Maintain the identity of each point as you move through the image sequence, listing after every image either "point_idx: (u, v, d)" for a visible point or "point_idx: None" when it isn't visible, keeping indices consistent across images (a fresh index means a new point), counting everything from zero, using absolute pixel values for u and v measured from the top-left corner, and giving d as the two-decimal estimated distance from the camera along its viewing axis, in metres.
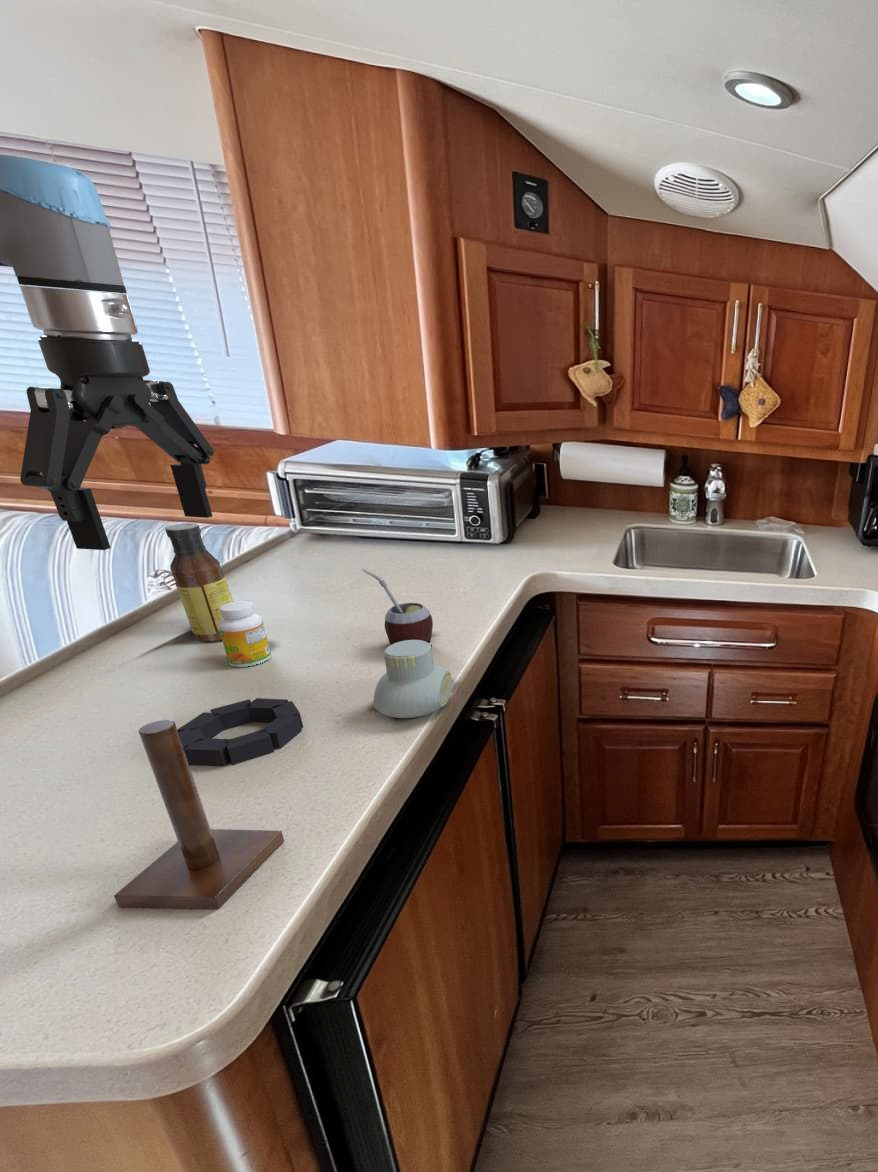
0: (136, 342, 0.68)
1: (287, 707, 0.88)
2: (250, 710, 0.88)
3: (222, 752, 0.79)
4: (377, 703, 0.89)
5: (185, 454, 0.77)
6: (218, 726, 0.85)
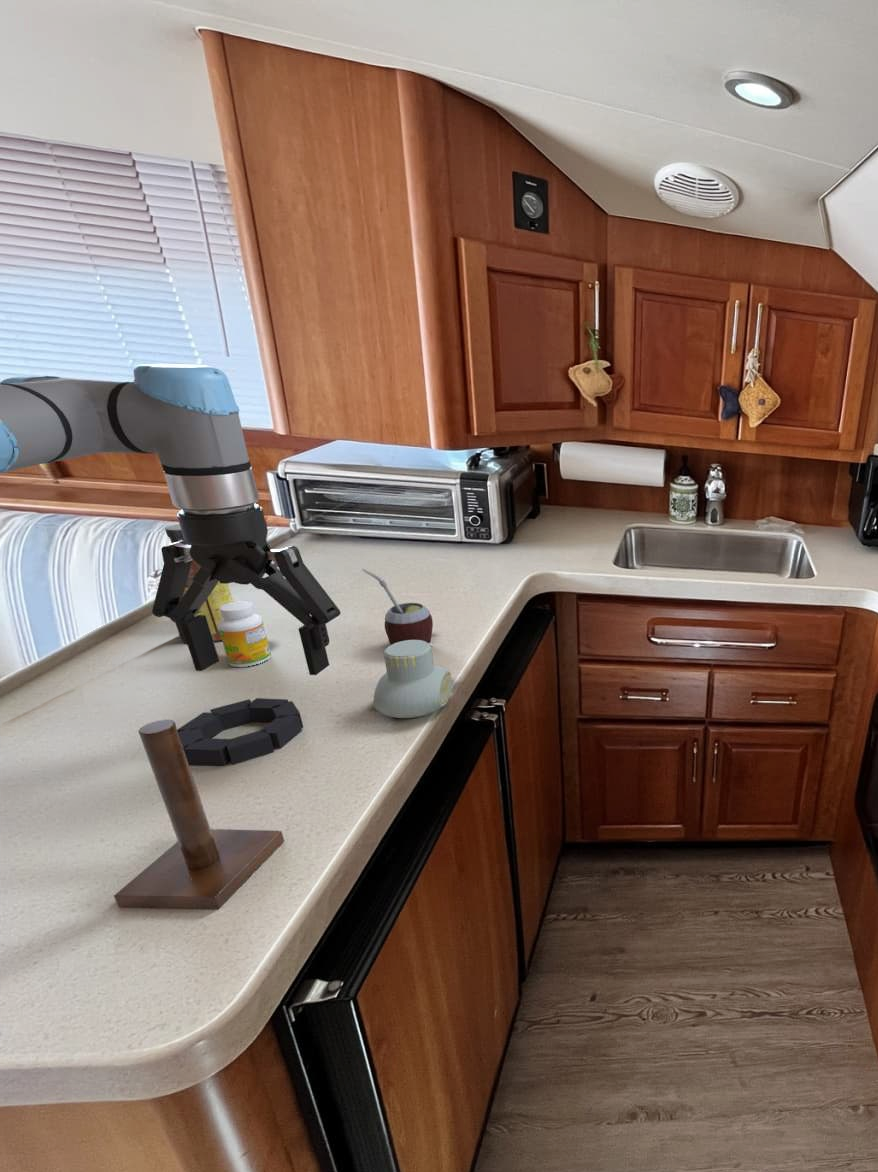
0: None
1: (287, 707, 0.88)
2: (250, 710, 0.88)
3: (222, 752, 0.79)
4: (377, 703, 0.89)
5: (200, 606, 0.79)
6: (218, 726, 0.85)
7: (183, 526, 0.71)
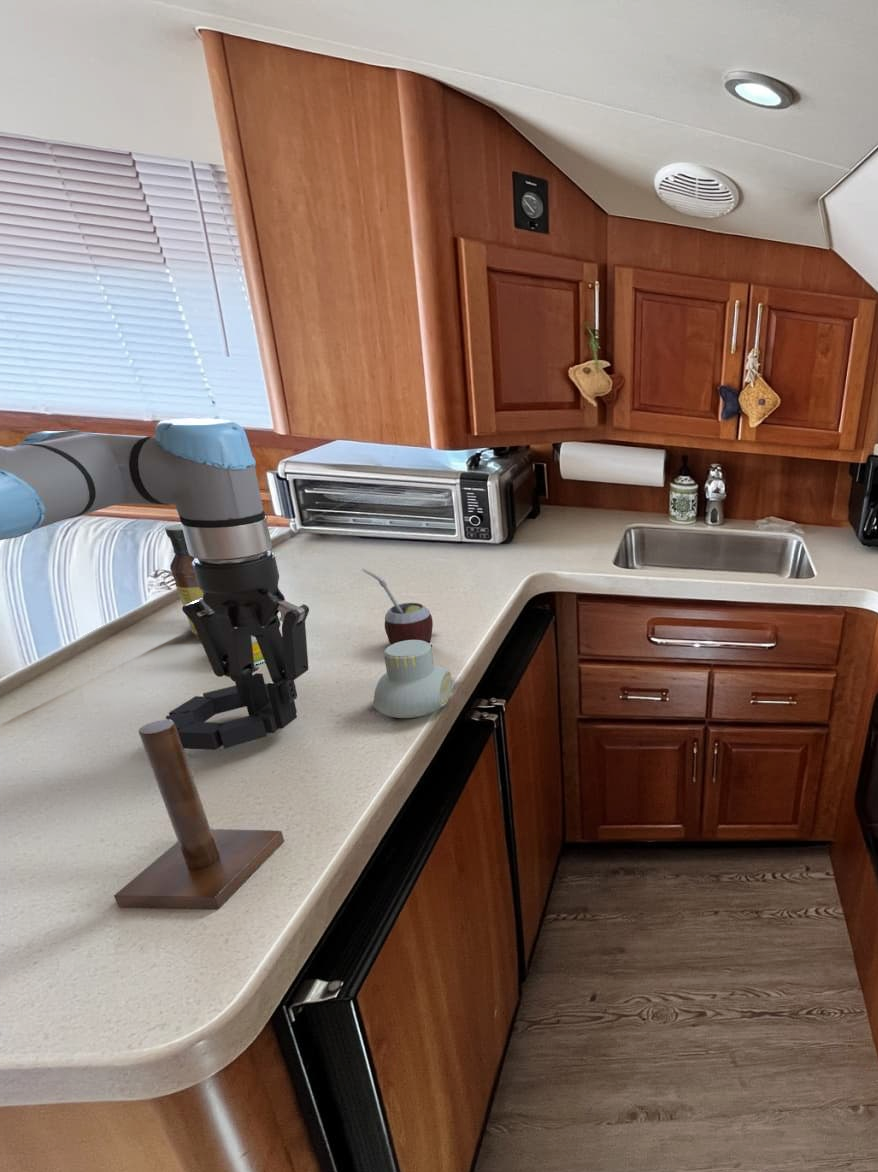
0: None
1: None
2: None
3: (214, 735, 0.78)
4: (377, 703, 0.89)
5: (251, 660, 0.82)
6: (210, 710, 0.84)
7: (198, 574, 0.73)
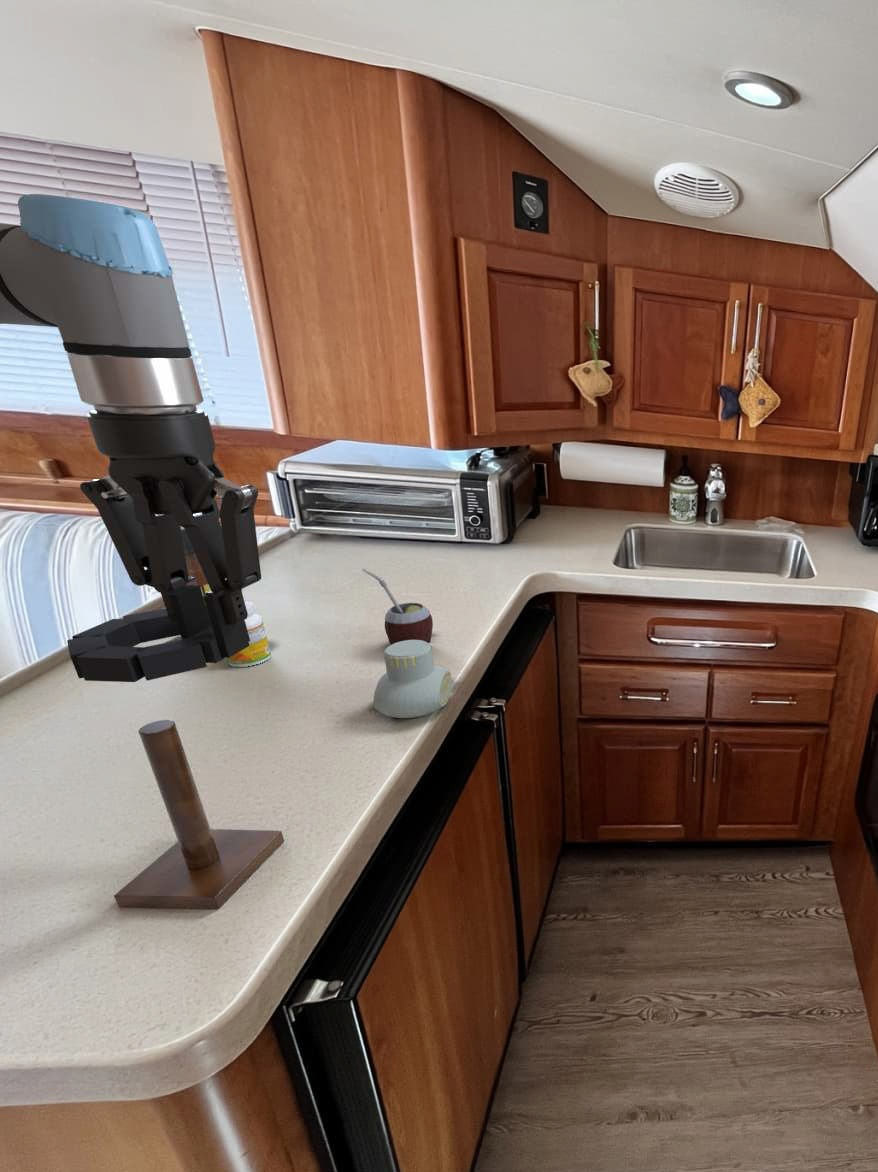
0: None
1: None
2: None
3: (131, 662, 0.57)
4: (377, 703, 0.89)
5: (183, 566, 0.61)
6: (133, 637, 0.63)
7: (95, 429, 0.52)
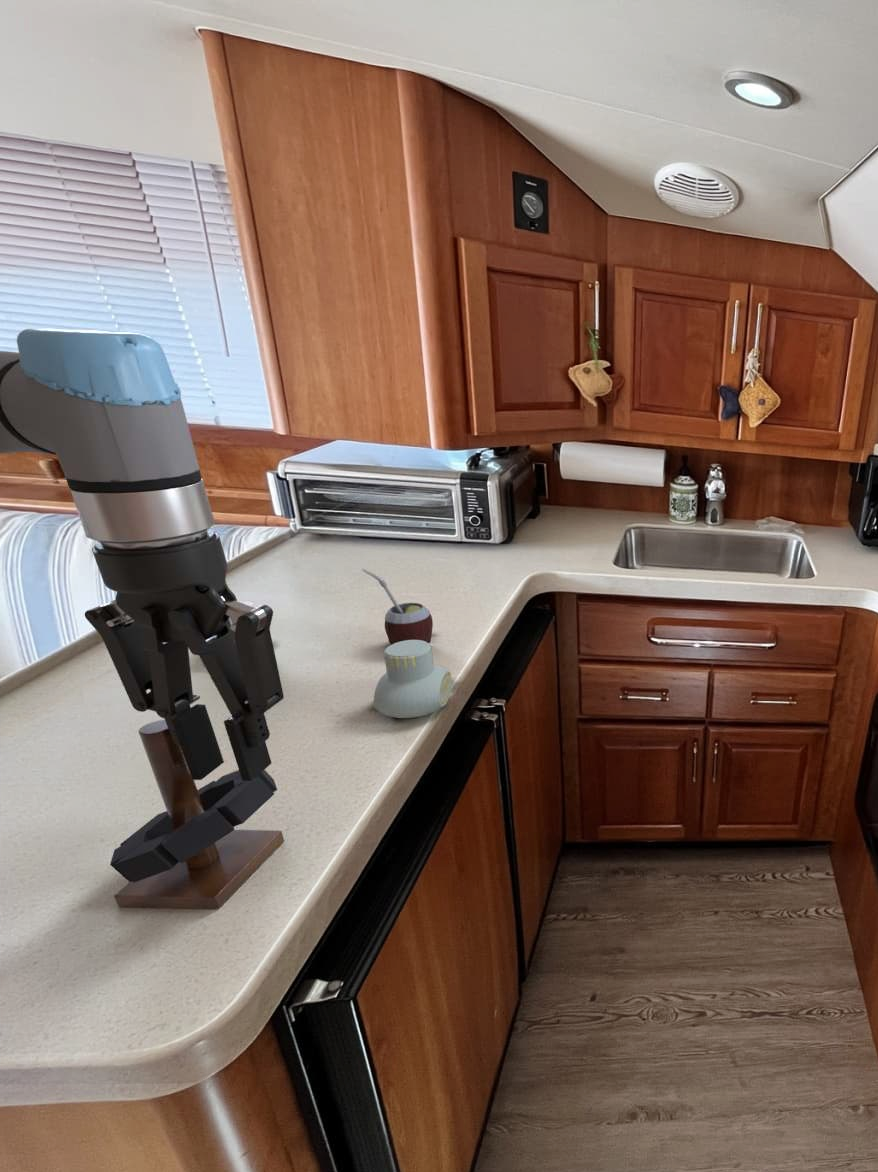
0: None
1: None
2: (213, 792, 0.66)
3: (158, 852, 0.56)
4: (377, 703, 0.89)
5: (189, 687, 0.58)
6: None
7: (101, 565, 0.49)
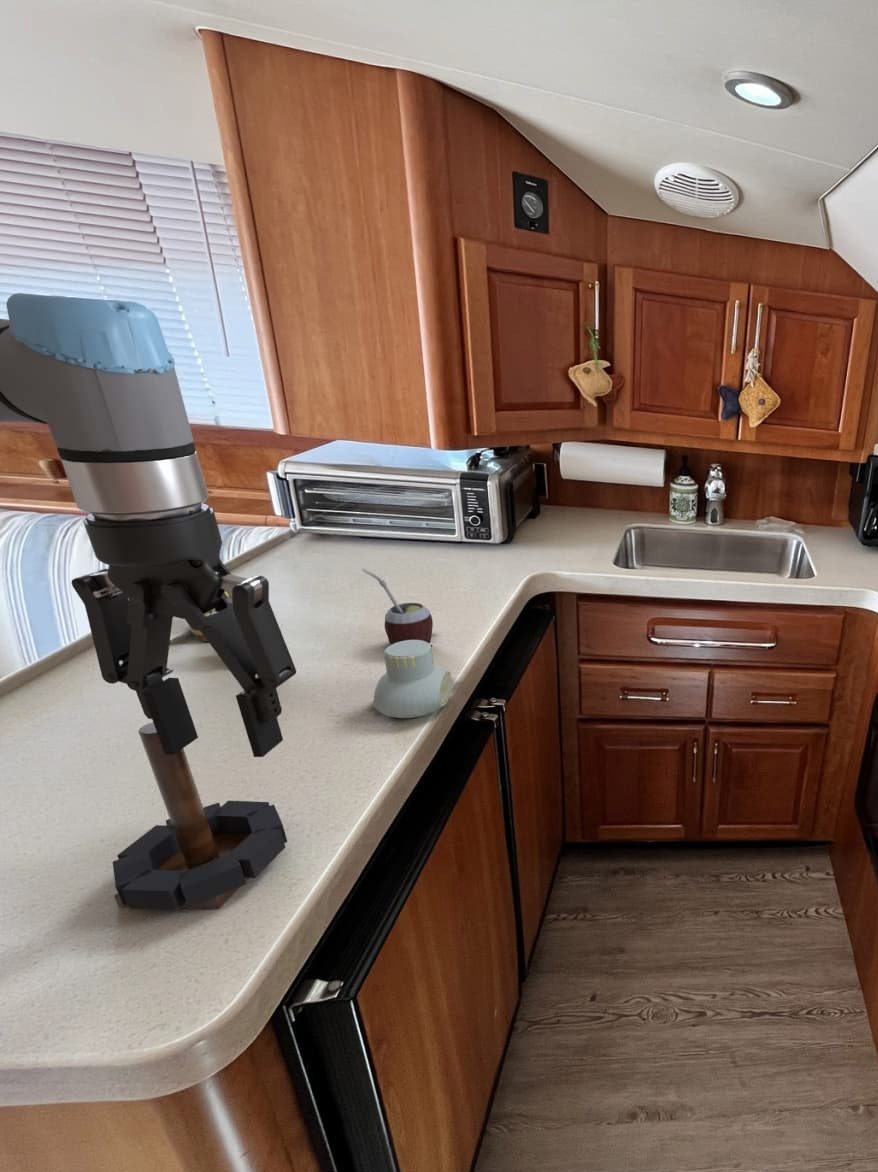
0: None
1: (267, 815, 0.67)
2: (218, 819, 0.67)
3: (173, 892, 0.58)
4: (377, 703, 0.89)
5: (164, 661, 0.57)
6: (175, 844, 0.64)
7: (92, 537, 0.48)
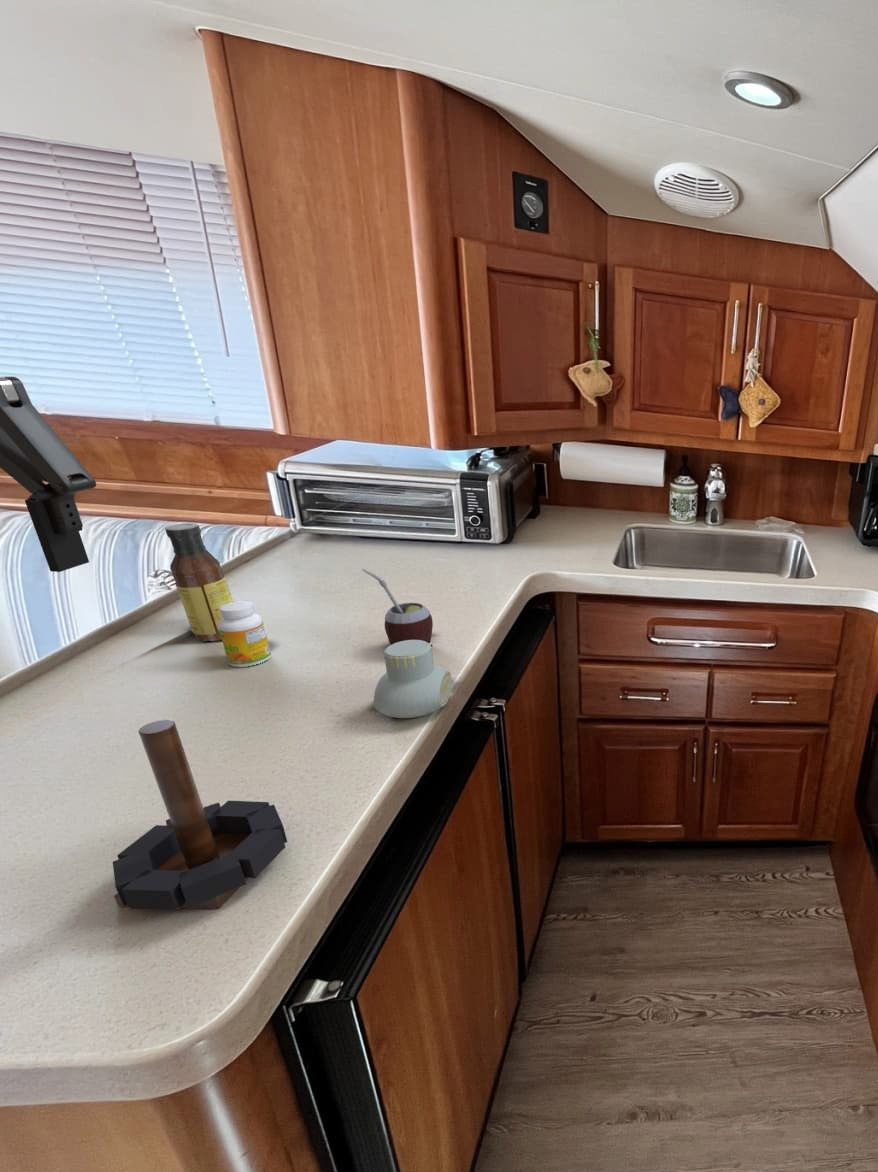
0: None
1: (267, 815, 0.67)
2: (218, 819, 0.67)
3: (173, 892, 0.58)
4: (377, 703, 0.89)
5: None
6: (175, 844, 0.64)
7: None
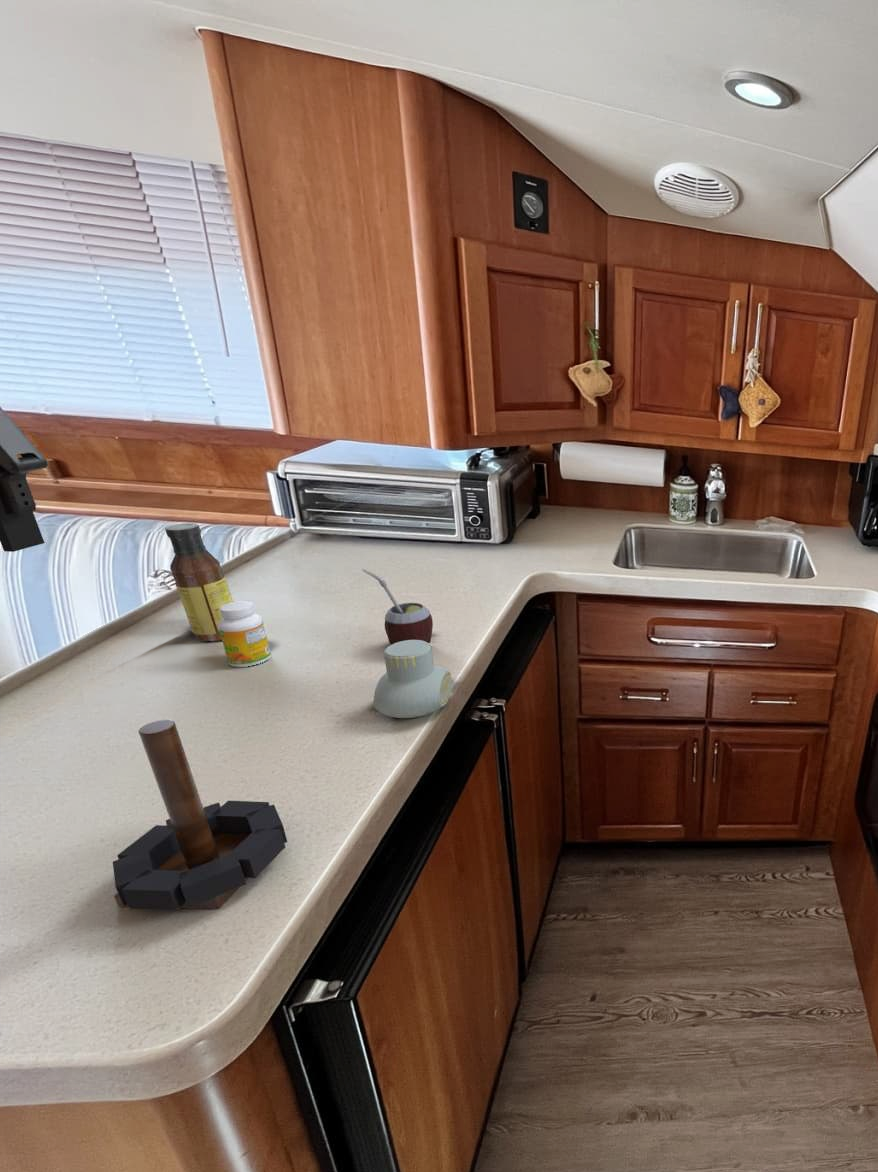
0: None
1: (267, 815, 0.67)
2: (218, 819, 0.67)
3: (173, 892, 0.58)
4: (377, 703, 0.89)
5: None
6: (175, 844, 0.64)
7: None
